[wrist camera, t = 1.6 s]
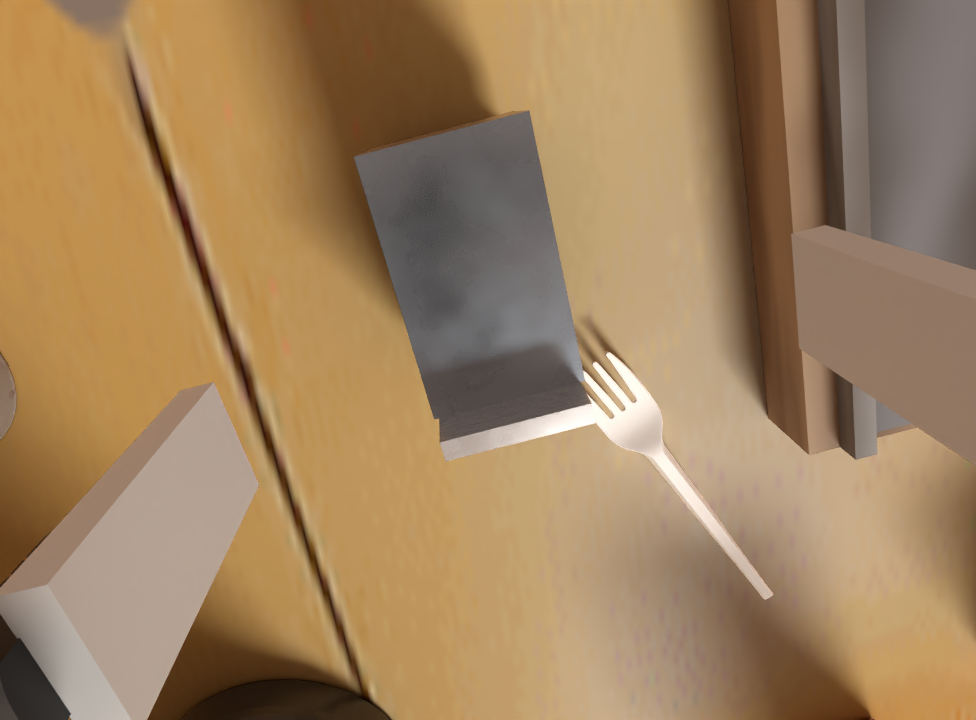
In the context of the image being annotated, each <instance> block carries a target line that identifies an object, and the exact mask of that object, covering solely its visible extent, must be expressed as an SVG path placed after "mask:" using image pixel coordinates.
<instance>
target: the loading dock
mask: <svg viewBox="0 0 976 720" xmlns="http://www.w3.org/2000/svg"><path fill="white" fill-rule="evenodd" d="M728 5H729V15H730V25H731V36H732V46H733V57H734V67H735V77H736V88H737V98H738V108H739V119H740V129H741V139H742V150H743V160H744V171H745V181H746V191H747V202H748V212H749V222H750V233H751V243H752V254H753V264H754V274H755V285H756V295H757V305H758V316H759V326H760V337H761V347H762V357H763V368H764V378H765V388H766V399H767V409H768V418H769V419H770V420H771V421H772V422H773V423H774V424H775V425H777V426H778V427H779V428H780V429H781V430H782V431H783V432H784V433H785V434H787V435H788V436H789V437H790V438H791V439H792V440H793V441H794V442H795V443H796V444H798V445H799V446H800V447H801V448H802V449H803V450H804V451H805V452H806V453H808V454H809V455H811V454H815V453H819V452H823V451H827V450H831V449H835V448H839V447H841V448H842V449H843V450H845V451H846V452H847V453H848V454H849V455H851V456H852V457H853V458H854V459H860V458H864V457H868V456H872V455H876V454H877V438H878V437H882V436H886V435H890V434H893V433H897V432H901V431H905V430H909V429H913V428H917V427H916V426H915V425H913V424H912V423H910V422H909V421H907V420H906V419H904V418H903V417H901V416H900V415H898V414H897V413H895V412H894V411H892V410H891V409H889V408H888V407H886V406H885V405H883V404H882V403H880V402H879V401H877V400H876V399H874V398H873V397H871V396H870V395H868V394H867V393H865V392H864V391H862V390H861V389H859V388H858V387H856V386H855V385H853V384H852V383H850V382H849V381H847V380H846V379H844V378H843V377H841V376H840V375H838V374H837V373H835V372H834V371H832V370H831V369H829V368H828V367H826V366H825V365H823V364H822V363H820V362H819V361H817V360H816V359H814V358H813V357H811V356H810V355H808V354H807V353H805V352H804V351H802V350H801V349H799V338H798V324H797V310H796V295H795V281H794V267H793V253H792V238H791V234H793V233H797V232H801V231H805V230H808V229H812V228H816V227H820V226H824V225H827V226H830V227H834V228H837V229H840V230H844V231H847V232H850V233H854V234H857V235H860V236H863V237H867V238H870V239H873V240H877V241H880V242H883V243H887V244H890V245H893V246H897V247H900V248H903V249H907V250H910V251H913V252H917V253H920V254H923V255H927V256H930V257H933V258H937V259H940V260H943V261H947V262H950V263H953V264H956V265H960V266H963V267H966V268H970V269H973V270H976V0H728Z"/></svg>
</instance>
